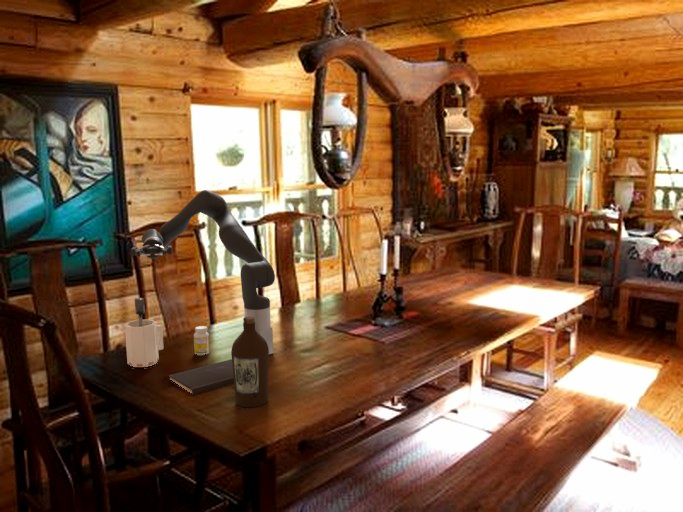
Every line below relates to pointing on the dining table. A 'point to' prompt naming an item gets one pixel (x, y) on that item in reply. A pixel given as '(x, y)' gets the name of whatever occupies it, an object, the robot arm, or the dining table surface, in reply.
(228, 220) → the robot arm
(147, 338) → the octagonal white mug
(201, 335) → the supplement bottle
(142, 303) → the plunger
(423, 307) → the dining table surface
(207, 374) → the hardcover book
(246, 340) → the olive oil
